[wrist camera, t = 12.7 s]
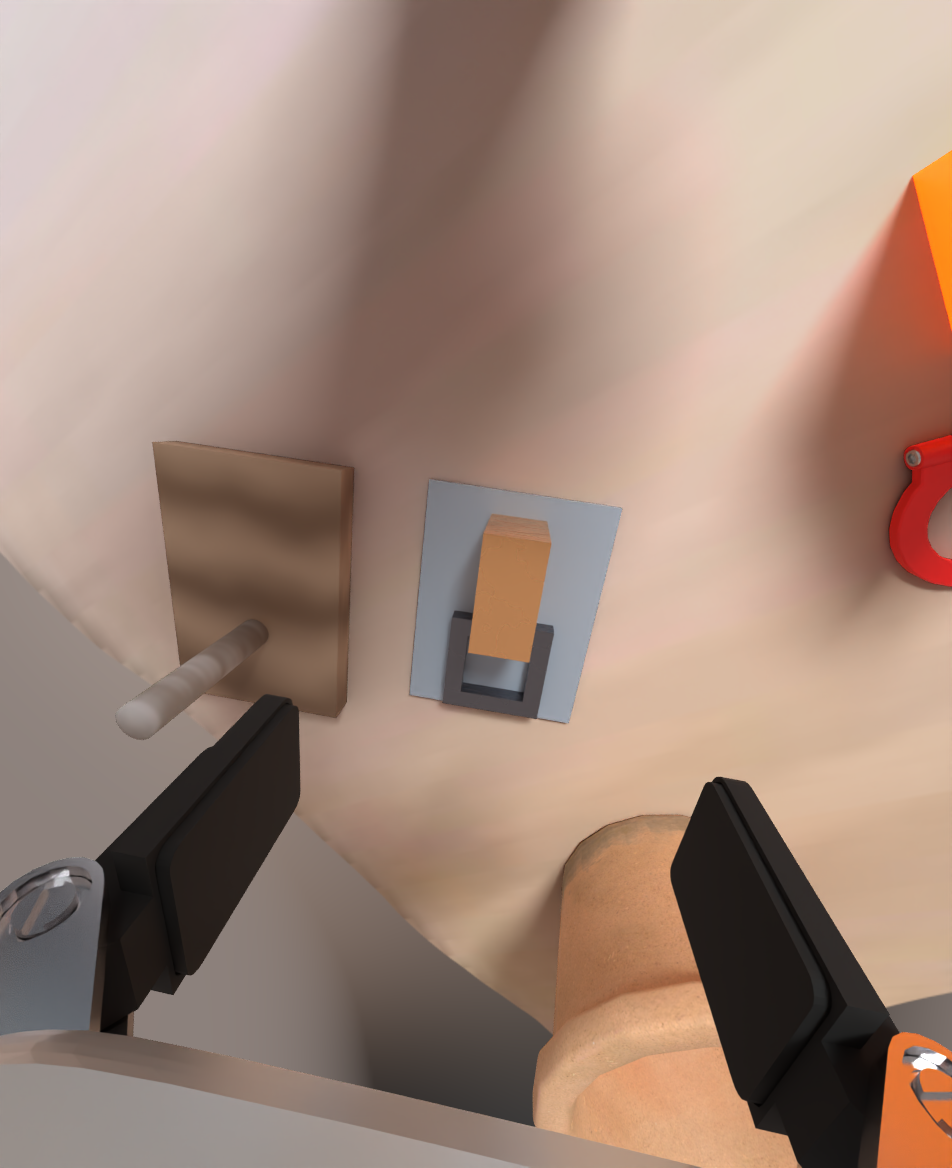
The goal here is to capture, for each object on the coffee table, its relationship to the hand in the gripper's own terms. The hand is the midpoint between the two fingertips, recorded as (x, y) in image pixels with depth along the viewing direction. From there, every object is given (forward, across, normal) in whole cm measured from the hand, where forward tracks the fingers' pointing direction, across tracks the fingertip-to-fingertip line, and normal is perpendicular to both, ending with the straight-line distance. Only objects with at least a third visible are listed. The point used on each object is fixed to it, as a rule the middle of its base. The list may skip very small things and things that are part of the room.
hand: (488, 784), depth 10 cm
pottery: (+20, -17, +27) cm, 38 cm away
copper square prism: (+19, 0, +5) cm, 20 cm away
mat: (+20, 0, +4) cm, 20 cm away
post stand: (+20, +17, +5) cm, 27 cm away
